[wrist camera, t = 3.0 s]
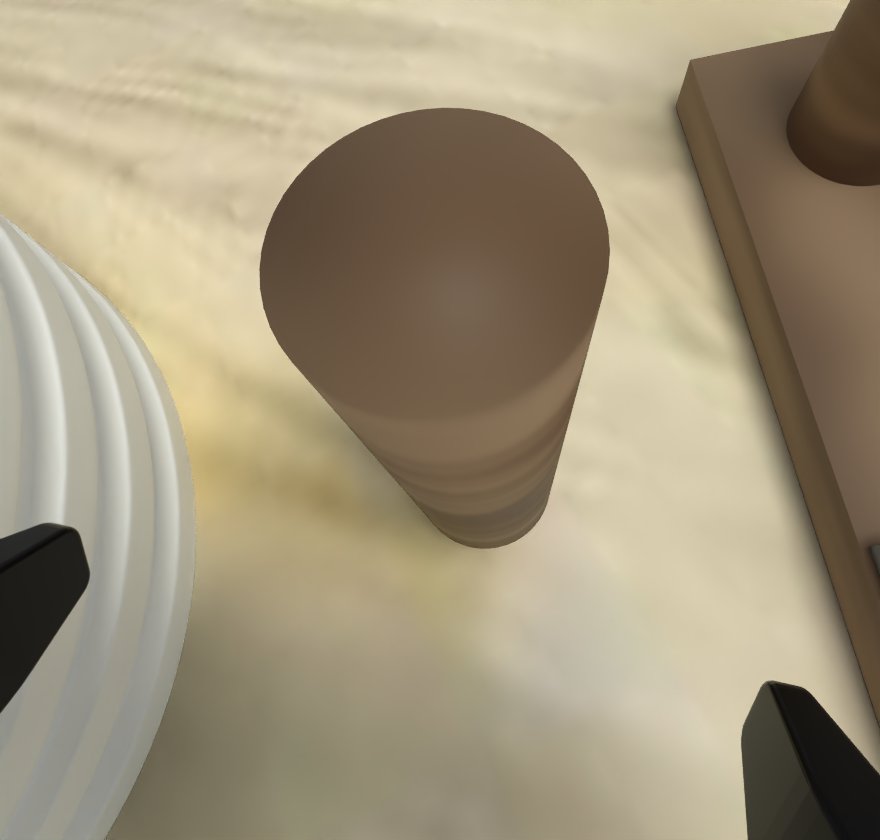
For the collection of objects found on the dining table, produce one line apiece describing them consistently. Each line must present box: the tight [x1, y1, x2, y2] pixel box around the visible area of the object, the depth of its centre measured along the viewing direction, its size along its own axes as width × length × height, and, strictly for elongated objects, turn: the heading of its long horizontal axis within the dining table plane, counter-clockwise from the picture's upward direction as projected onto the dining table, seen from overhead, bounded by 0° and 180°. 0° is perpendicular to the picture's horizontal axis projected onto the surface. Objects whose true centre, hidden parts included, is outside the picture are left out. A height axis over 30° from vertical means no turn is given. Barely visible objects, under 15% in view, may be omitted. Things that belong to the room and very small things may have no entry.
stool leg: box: [260, 108, 610, 548], centre depth 13 cm, size 4×4×13 cm
